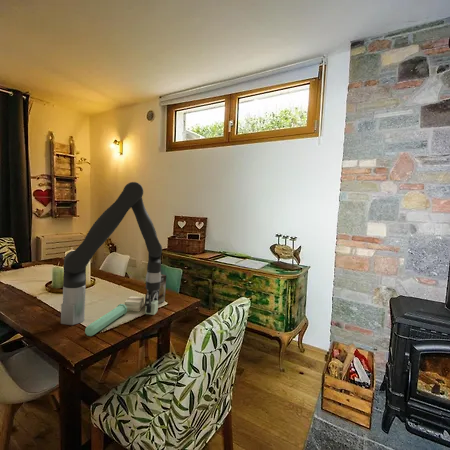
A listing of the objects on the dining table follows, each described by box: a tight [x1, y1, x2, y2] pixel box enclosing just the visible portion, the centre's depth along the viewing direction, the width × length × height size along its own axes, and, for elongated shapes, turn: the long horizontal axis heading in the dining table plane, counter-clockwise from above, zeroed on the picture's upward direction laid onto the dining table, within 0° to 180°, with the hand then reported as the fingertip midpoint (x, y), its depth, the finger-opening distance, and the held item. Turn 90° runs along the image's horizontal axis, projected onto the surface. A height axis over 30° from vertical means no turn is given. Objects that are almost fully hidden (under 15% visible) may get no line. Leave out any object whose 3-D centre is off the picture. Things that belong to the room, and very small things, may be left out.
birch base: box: [124, 296, 145, 312], centre depth 146 cm, size 8×8×5 cm
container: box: [84, 303, 128, 337], centre depth 125 cm, size 6×6×25 cm
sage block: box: [144, 300, 159, 316], centre depth 142 cm, size 5×5×6 cm
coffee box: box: [146, 273, 167, 304], centre depth 156 cm, size 9×6×16 cm
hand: (151, 309), depth 142 cm, fingers open, 8 cm apart
